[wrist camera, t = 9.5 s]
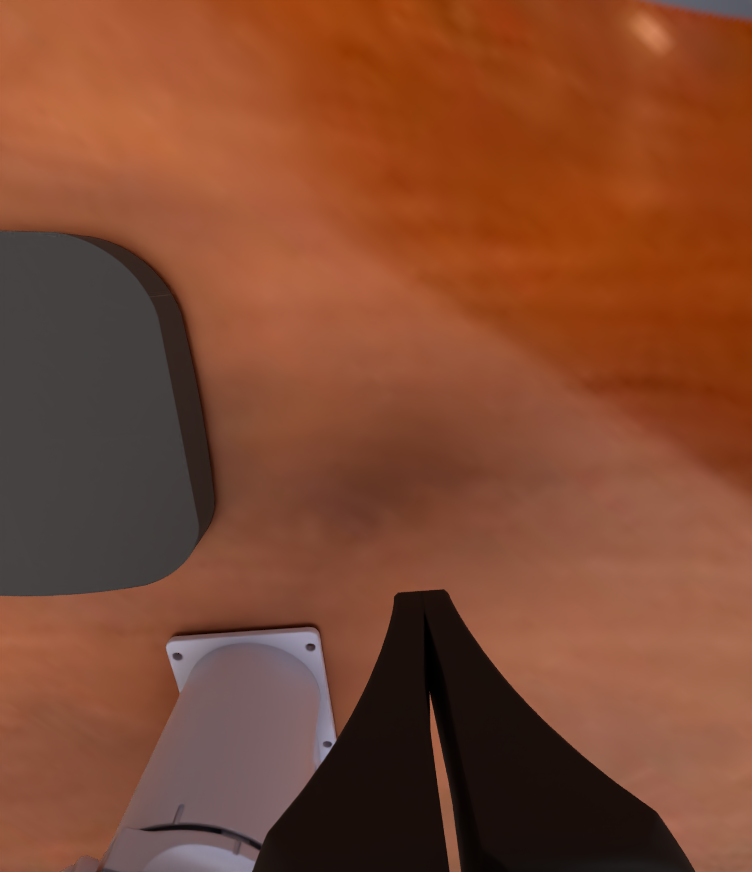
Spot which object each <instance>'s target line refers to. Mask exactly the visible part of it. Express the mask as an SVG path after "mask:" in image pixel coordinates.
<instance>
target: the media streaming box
mask: <svg viewBox="0 0 752 872" xmlns="http://www.w3.org/2000/svg"><path fill="white" fill-rule="evenodd" d="M214 505H215V502H214V492H213V484H212V475H211V468H210V460H209V453H208V446H207V440H206V433H205V427H204V421H203V415H202V410H201V404H200V399H199V394H198V389H197V384H196V379H195V374H194V369H193V364H192V360H191V355H190V350H189V346H188V342H187V337H186V333H185V329H184V325H183V320H182V316H181V312H180V310H179V308H178V305H177V303H176V301H175V299H174V298H173V296H172V294H171V292H170V291H169V289H168V288H167V286H166V285H165V284H164V282H163V281H162V280H161V278H160V277H159V276H158V275H157V274H156V273H155V272H154V271H153V270H152V269H151V268H150V267H149V266H148V265H147V264H146V263H145V262H143V261H142V260H141V259H139V258H138V257H137V256H135V255H134V254H132V253H131V252H129V251H127V250H126V249H124V248H122V247H120V246H118V245H116V244H113V243H111V242H108V241H105V240H102V239H99V238H94V237H89V236H81V235H73V234H65V233H57V232H25V231H0V596H54V595H71V594H83V593H94V592H103V591H111V590H118V589H126V588H132V587H138V586H144V585H148V584H151V583H153V582H156V581H158V580H161V579H162V578H164V577H166V576H168V575H170V574H171V573H173V572H174V571H175V570H177V569H178V568H179V567H180V566H181V565H182V564H183V563H184V562H185V561H186V560H187V559H188V557H189V556H190V554H191V553H192V551H193V550H194V548H195V547H196V545H197V544H198V542H199V541H200V539H201V538H202V536H203V535H204V533H205V532H206V530H207V529H208V527H209V524H210V522H211V519H212V516H213V512H214Z"/></svg>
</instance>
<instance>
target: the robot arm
mask: <svg viewBox="0 0 752 872" xmlns="http://www.w3.org/2000/svg"><path fill="white" fill-rule="evenodd" d="M309 643H311V644H314V645H308V644H309ZM166 650H167V653H168V657H169V660H170V663H171V666H172V670H173V673H174V676H175V679H176V683H177V686H178V689H179V692H180V696H179V698H178V700H177V702H176V704H175V706H174V709H173V711H172V713H171V715H170V717H169V719H168V721H167V723H166V726H165V728H164V730H163V732H162V734H161V736H160V738H159V741H158V743H157V745H156V747H155V749H154V751H153V753H152V755H151V758H150V760H149V762H148V764H147V766H146V768H145V770H144V773H143V775H142V777H141V779H140V781H139V783H138V785H137V787H136V790H135V792H134V794H133V796H132V798H131V800H130V802H129V805H128V807H127V809H126V811H125V813H124V815H123V817H122V819H121V822H120V824H119V826H118V828H117V830H116V832H115V834H114V837H113V839H112V841H111V843H110V845H109V847H108V849H107V851H106V852H105V854H104V855H103V857H102V858H101V860H100V861H99V862H98V860H97V859H95V858H92V857H89V856H82V857H80V858H79V859H78V860H77V862H76V863H75V864H74V865H70V866H68V867H67V868H65V869H63V870H62V871H60V872H449V864H448V856H447V849H446V842H445V835H444V828H443V821H442V814H441V807H440V800H439V793H438V785H437V778H436V770H435V763H434V755H433V748H432V740H431V731H430V695H431V700H432V705H433V710H434V715H435V719H436V724H437V729H438V734H439V738H440V743H441V748H442V753H443V757H444V762H445V767H446V772H447V776H448V781H449V787H450V793H451V798H452V804H453V812H454V820H455V827H456V835H457V843H458V850H459V858H460V866H461V872H695V870H694V869H693V867H692V865H691V863H690V862H689V860H688V858H687V857H686V855H685V854H684V852H683V850H682V849H681V847H680V846H679V844H678V843H677V841H676V840H675V838H674V837H673V835H672V834H671V832H670V831H669V829H668V828H667V826H666V825H665V823H664V822H663V820H662V819H661V818H660V816H659V815H658V813H657V812H656V811H655V810H653V809H652V808H650V807H649V806H648V805H646V804H645V803H643V802H642V801H641V800H639V799H638V798H637V797H635V796H634V795H632V794H631V793H630V792H628V791H627V790H625V789H624V788H623V787H621V786H620V785H619V784H617V783H616V782H615V781H613V780H612V779H611V778H609V777H608V776H607V775H606V774H604V773H603V772H602V771H601V770H599V769H598V768H597V767H596V766H595V765H593V764H592V763H591V762H590V761H588V760H587V759H586V758H585V757H583V756H582V755H581V754H580V753H579V752H578V751H577V750H576V749H575V748H573V747H572V746H571V745H570V744H569V743H568V742H567V741H566V740H565V739H563V738H562V737H561V736H560V735H559V734H558V733H557V732H556V731H555V730H553V729H552V728H551V727H550V726H549V725H548V724H547V723H546V722H545V721H544V720H543V719H542V718H541V717H540V716H539V715H538V714H537V713H536V712H535V711H534V710H533V709H532V708H531V707H530V706H529V705H528V704H527V703H526V702H525V701H524V699H523V698H522V697H521V696H520V695H519V694H518V693H517V692H516V691H515V690H514V689H513V687H512V686H511V685H510V684H509V683H508V682H507V680H506V679H505V678H504V677H503V676H502V674H501V673H500V672H499V671H498V669H497V668H496V667H495V666H494V664H493V663H492V662H491V661H490V659H489V658H488V657H487V655H486V654H485V653H484V651H483V650H482V648H481V647H480V646H479V644H478V643H477V641H476V640H475V638H474V637H473V636H472V634H471V633H470V631H469V630H468V628H467V627H466V625H465V623H464V622H463V620H462V618H461V617H460V615H459V614H458V612H457V610H456V608H455V606H454V604H453V603H452V600H451V598H450V596H449V594H448V592H446V591H445V590H444V589H443V590H429V591H415V592H401V593H397V594H396V595H395V596H394V606H393V611H392V616H391V620H390V624H389V628H388V631H387V634H386V637H385V640H384V643H383V646H382V649H381V652H380V655H379V657H378V660H377V662H376V664H375V667H374V669H373V672H372V674H371V676H370V679H369V681H368V683H367V685H366V688H365V690H364V692H363V694H362V696H361V698H360V700H359V702H358V704H357V706H356V707H355V709H354V711H353V713H352V715H351V717H350V718H349V720H348V722H347V724H346V725H345V727H344V729H343V730H342V732H341V734H340V736H339V737H338V739H337V737H336V731H335V725H334V719H333V713H332V707H331V700H330V694H329V688H328V682H327V676H326V670H325V664H324V658H323V652H322V646H321V639H320V634H319V631H318V630H317V629H315V628H313V627H301V628H287V629H273V630H258V631H244V632H230V633H215V634H201V635H187V636H175V637H172V638H170V639H169V641H168V643H167V645H166ZM178 653H180V654H178ZM429 691H430V693H429Z"/></svg>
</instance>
